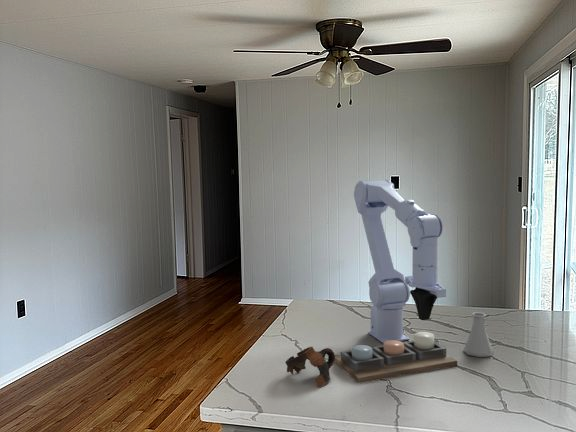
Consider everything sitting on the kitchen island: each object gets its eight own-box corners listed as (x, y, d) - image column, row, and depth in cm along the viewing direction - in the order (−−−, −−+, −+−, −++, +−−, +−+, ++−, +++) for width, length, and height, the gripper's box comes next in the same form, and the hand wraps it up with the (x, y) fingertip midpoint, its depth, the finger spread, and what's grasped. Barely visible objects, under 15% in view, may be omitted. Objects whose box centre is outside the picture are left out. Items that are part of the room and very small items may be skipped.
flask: (495, 358, 127) (497, 319, 126) (464, 357, 129) (465, 317, 128) (490, 348, 134) (491, 310, 133) (461, 346, 136) (462, 309, 135)
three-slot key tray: (332, 360, 128) (332, 347, 128) (423, 345, 137) (423, 334, 136) (358, 383, 115) (358, 369, 115) (457, 365, 124) (457, 352, 123)
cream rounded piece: (410, 345, 130) (410, 333, 130) (426, 343, 131) (427, 330, 131) (421, 352, 125) (421, 339, 125) (438, 349, 127) (438, 336, 127)
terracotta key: (380, 354, 127) (380, 341, 127) (397, 351, 129) (397, 339, 128) (390, 361, 123) (390, 348, 122) (407, 358, 124) (407, 345, 124)
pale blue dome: (348, 359, 125) (348, 346, 124) (366, 356, 126) (366, 343, 126) (357, 367, 120) (357, 353, 120) (376, 363, 122) (375, 350, 121)
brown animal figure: (311, 395, 111) (292, 360, 112) (291, 398, 119) (274, 365, 120) (350, 367, 118) (333, 334, 119) (330, 372, 125) (313, 341, 127)
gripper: (394, 260, 132) (394, 312, 133) (427, 272, 118) (427, 330, 119) (418, 258, 134) (418, 309, 135) (453, 269, 120) (453, 326, 122)
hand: (424, 319), depth 128 cm, fingers closed
